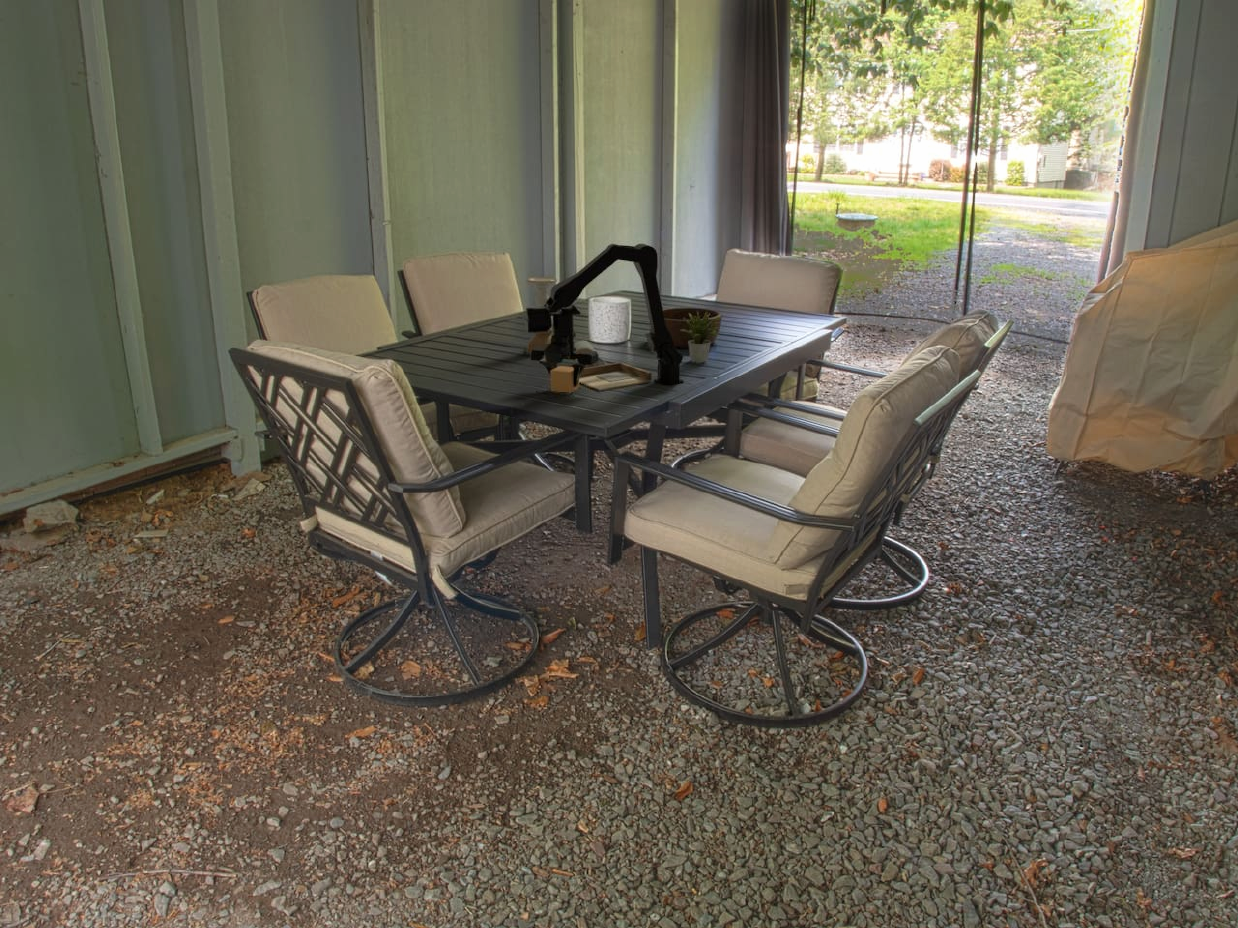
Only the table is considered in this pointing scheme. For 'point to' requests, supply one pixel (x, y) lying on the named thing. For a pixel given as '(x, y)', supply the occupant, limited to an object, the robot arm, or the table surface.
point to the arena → (614, 376)
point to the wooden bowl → (677, 323)
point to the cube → (563, 379)
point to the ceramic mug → (586, 345)
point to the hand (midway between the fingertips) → (565, 385)
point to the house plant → (699, 337)
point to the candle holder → (541, 298)
